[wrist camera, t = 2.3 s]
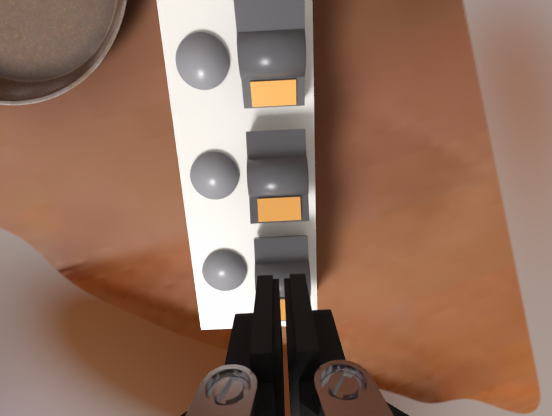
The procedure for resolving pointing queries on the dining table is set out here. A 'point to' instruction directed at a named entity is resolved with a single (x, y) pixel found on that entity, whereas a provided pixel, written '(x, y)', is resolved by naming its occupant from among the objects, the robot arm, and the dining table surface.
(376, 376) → the dining table surface
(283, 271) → the switch
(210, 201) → the power strip
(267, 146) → the switch middle
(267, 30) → the switch
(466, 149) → the dining table surface
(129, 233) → the dining table surface
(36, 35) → the plant saucer
